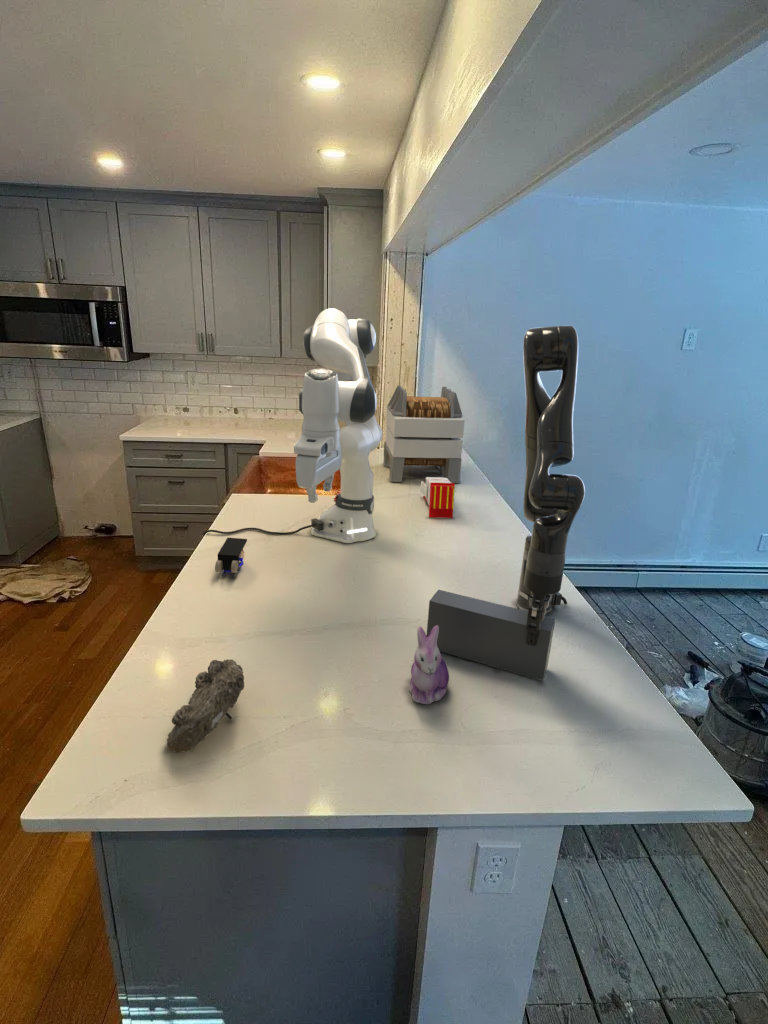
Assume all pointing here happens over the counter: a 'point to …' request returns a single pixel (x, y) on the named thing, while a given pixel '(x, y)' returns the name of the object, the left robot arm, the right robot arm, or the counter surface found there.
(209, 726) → the fossil
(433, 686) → the figurine
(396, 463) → the transformer
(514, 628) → the box
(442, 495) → the toy
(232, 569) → the black toy vehicle
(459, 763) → the counter surface
